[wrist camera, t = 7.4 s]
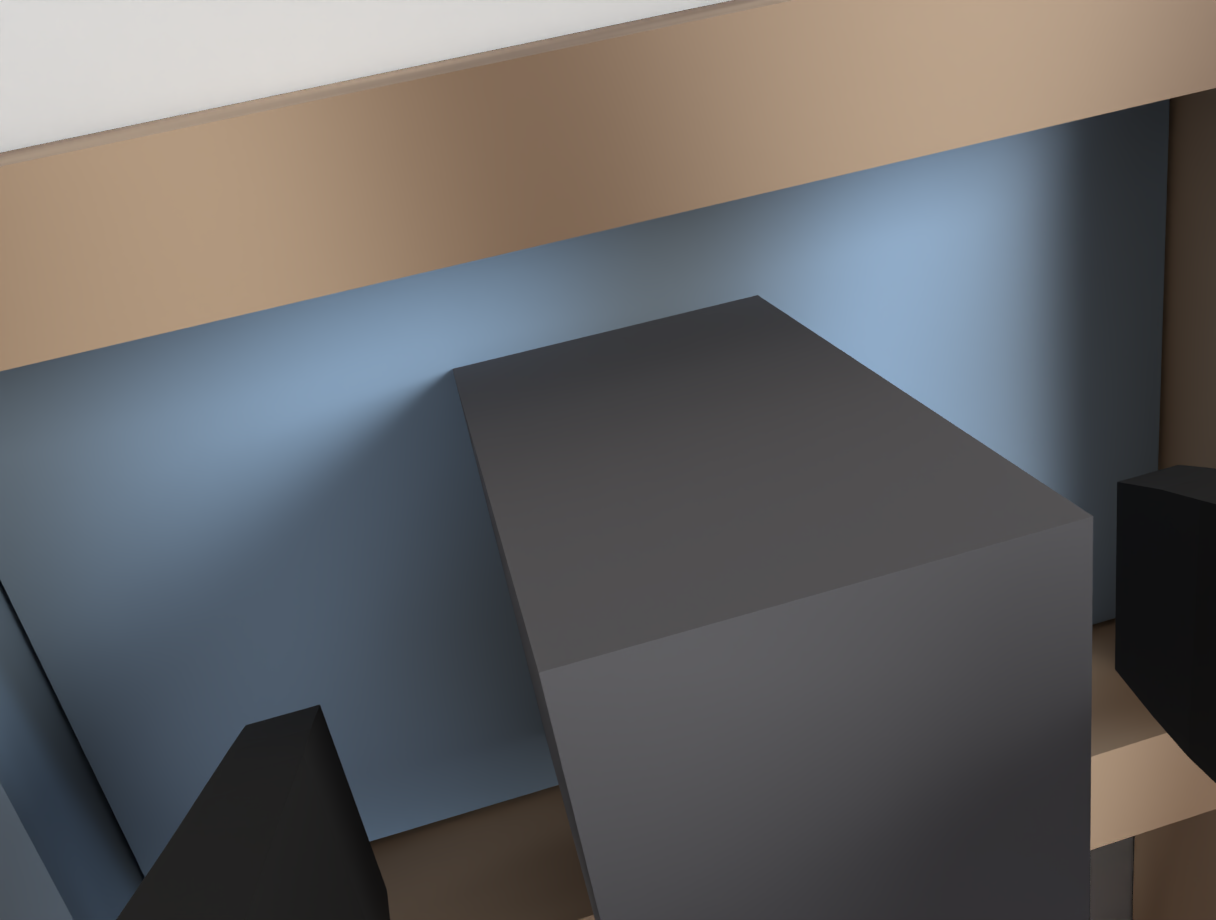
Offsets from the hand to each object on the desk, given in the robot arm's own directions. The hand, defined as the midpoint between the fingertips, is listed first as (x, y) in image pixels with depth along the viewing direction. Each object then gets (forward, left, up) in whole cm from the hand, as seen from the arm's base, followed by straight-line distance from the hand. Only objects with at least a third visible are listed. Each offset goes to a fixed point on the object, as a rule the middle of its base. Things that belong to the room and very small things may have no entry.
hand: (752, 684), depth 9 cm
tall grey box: (0, 0, -4) cm, 4 cm away
